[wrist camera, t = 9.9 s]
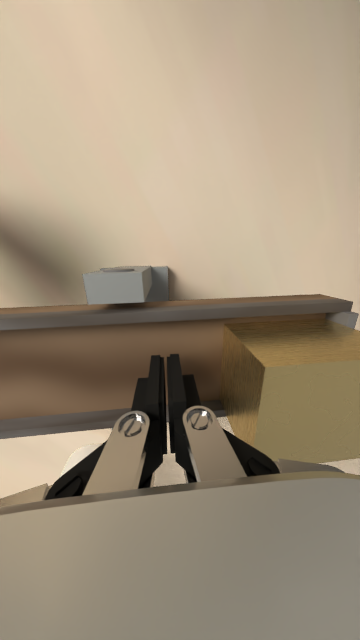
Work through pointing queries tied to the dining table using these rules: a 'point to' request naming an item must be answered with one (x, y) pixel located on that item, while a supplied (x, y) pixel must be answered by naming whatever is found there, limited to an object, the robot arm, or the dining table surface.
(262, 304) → the beam
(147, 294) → the pivot stand
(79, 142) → the dining table surface
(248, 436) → the block
